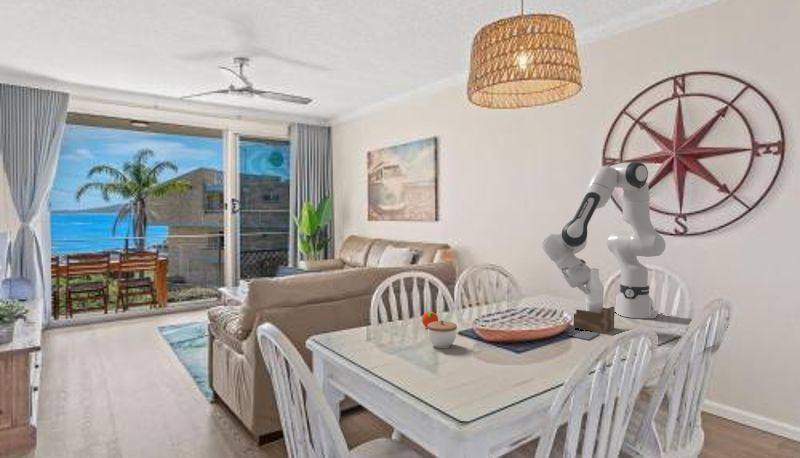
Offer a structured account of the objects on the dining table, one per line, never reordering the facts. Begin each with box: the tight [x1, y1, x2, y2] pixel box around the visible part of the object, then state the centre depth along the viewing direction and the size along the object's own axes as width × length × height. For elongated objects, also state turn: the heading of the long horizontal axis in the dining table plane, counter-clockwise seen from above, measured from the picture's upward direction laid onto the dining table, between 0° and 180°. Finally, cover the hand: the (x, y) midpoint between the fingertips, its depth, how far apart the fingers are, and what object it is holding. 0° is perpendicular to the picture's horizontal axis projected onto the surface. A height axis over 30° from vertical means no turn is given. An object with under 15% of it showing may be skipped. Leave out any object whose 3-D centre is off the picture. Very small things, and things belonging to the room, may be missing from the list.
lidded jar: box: [426, 319, 458, 349], centre depth 165 cm, size 11×11×9 cm
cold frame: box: [573, 306, 616, 335], centre depth 189 cm, size 12×12×9 cm
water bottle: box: [584, 268, 605, 313], centre depth 188 cm, size 7×7×25 cm
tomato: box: [421, 311, 439, 329], centre depth 189 cm, size 8×7×7 cm
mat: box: [573, 330, 601, 341], centre depth 179 cm, size 11×11×1 cm
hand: (593, 291), depth 189 cm, fingers open, 8 cm apart
